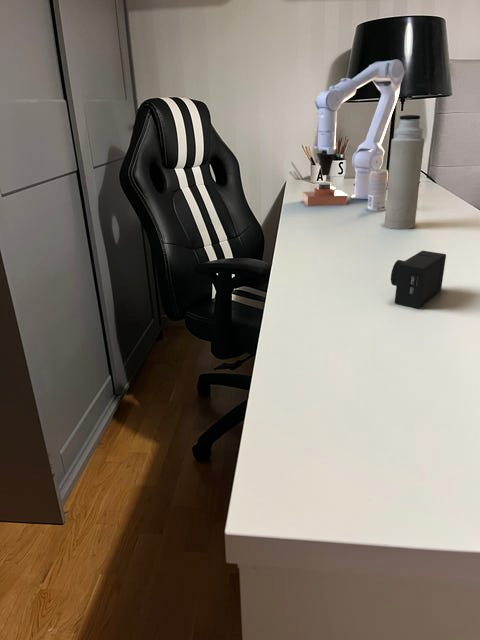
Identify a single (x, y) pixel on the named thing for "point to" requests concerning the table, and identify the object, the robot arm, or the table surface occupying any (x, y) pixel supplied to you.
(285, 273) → the table surface
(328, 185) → the lid button
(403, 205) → the thermos bottle
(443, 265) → the digital camera
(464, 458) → the table surface
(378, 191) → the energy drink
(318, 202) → the orange stepped block
